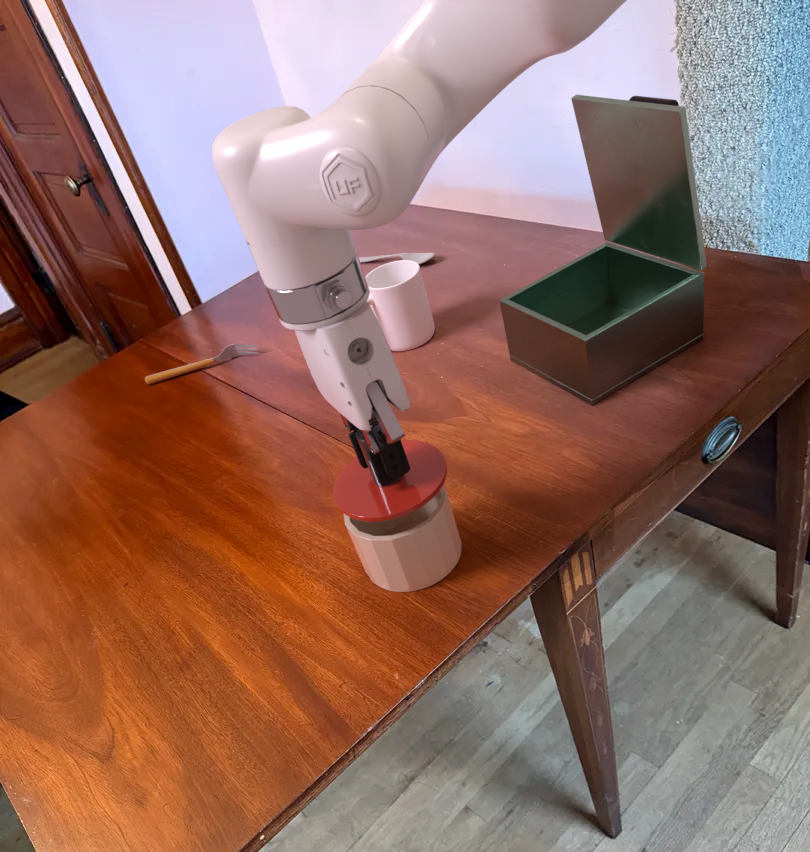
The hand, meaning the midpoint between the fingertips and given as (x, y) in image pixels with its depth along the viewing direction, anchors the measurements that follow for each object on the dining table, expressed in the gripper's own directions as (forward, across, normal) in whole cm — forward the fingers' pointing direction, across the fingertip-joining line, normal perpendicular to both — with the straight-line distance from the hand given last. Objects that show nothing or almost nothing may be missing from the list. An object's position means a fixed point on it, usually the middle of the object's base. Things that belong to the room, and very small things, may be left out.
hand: (385, 467), depth 70 cm
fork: (+11, +64, +4) cm, 65 cm away
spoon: (+12, +68, -34) cm, 77 cm away
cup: (+12, +41, -21) cm, 47 cm away
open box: (+12, +14, -37) cm, 42 cm away
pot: (+12, 0, 0) cm, 12 cm away
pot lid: (+2, 0, 0) cm, 2 cm away
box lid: (-6, +14, -44) cm, 47 cm away
